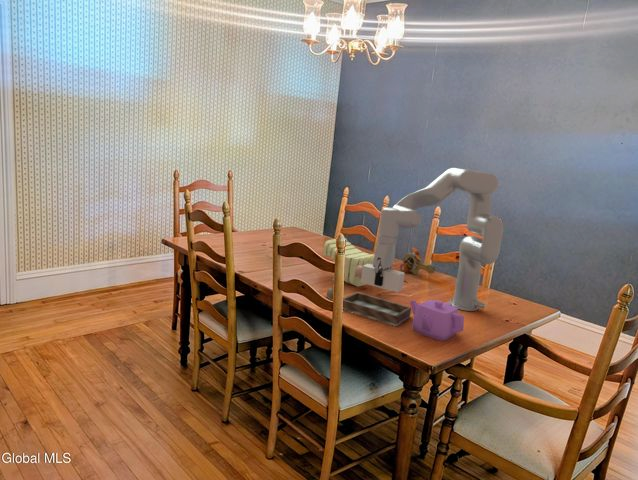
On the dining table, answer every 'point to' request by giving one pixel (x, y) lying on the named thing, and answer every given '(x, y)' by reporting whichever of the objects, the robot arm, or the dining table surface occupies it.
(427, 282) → the dining table surface
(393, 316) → the wooden tray
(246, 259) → the dining table surface
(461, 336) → the dining table surface
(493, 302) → the dining table surface
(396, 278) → the pale grey block
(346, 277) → the slatted curved stool
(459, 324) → the teakettle
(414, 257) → the toy helicopter
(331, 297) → the chocolate bunny
